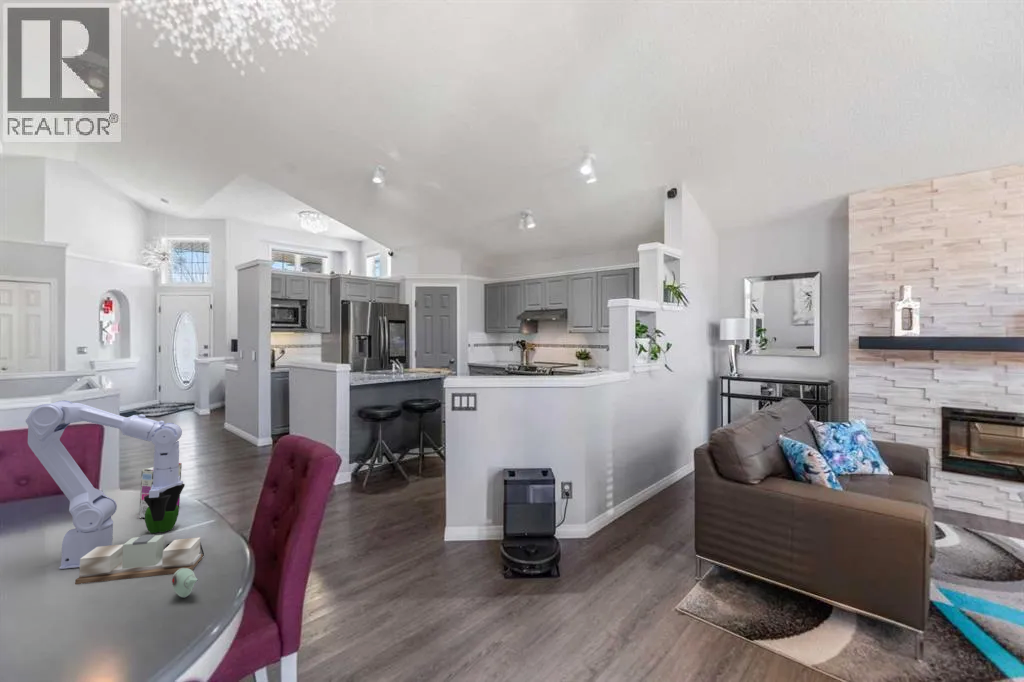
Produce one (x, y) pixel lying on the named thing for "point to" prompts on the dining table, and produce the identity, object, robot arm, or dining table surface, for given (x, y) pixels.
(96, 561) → the board
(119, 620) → the dining table surface
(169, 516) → the bell pepper
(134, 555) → the block
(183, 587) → the robot head
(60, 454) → the robot arm
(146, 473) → the candy bar box
